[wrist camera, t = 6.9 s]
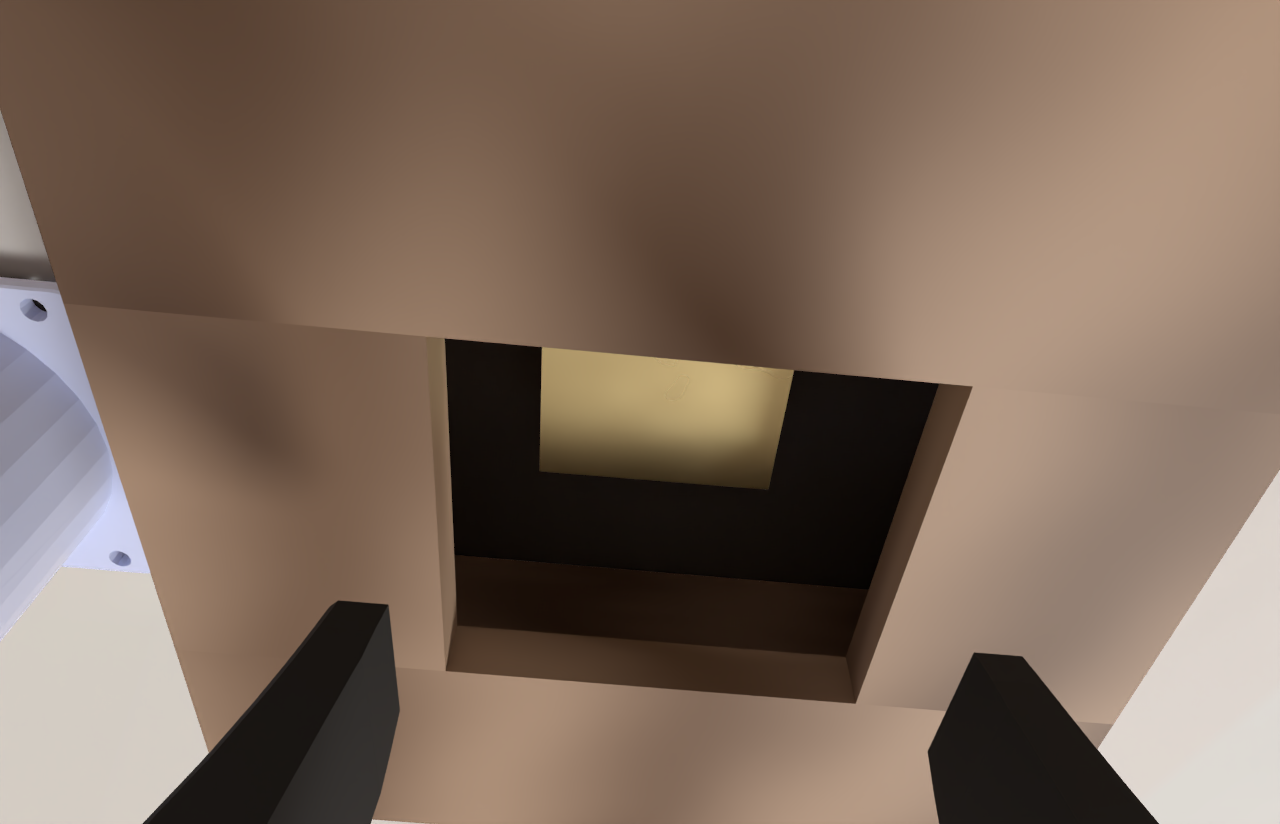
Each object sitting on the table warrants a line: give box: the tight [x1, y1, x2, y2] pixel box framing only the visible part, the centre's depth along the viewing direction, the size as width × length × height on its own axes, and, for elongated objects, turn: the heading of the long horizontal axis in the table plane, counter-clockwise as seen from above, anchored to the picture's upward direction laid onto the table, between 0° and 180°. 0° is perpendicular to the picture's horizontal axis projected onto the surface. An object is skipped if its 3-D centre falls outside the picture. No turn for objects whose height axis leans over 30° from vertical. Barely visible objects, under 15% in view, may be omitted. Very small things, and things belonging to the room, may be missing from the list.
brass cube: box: [540, 347, 794, 490], centre depth 17 cm, size 4×4×3 cm
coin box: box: [0, 0, 1280, 824], centre depth 16 cm, size 16×16×6 cm
